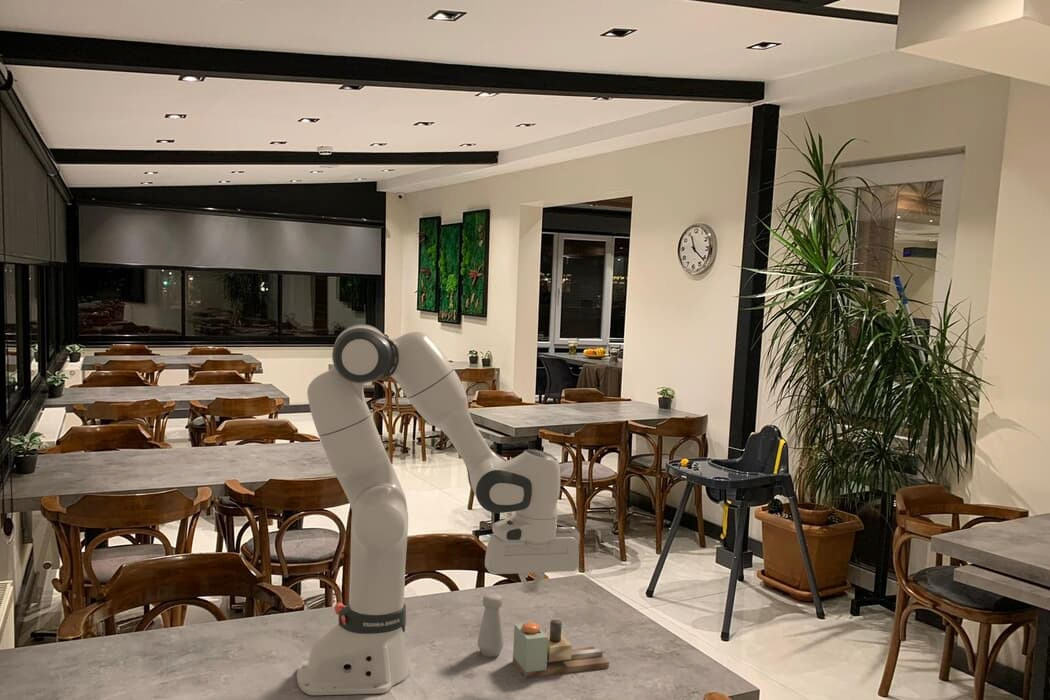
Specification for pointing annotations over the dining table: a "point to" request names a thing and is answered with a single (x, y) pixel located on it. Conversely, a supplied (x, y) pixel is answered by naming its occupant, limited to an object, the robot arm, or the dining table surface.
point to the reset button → (530, 628)
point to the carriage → (557, 643)
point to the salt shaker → (491, 627)
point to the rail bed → (571, 663)
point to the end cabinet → (530, 649)
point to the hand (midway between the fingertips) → (529, 592)
